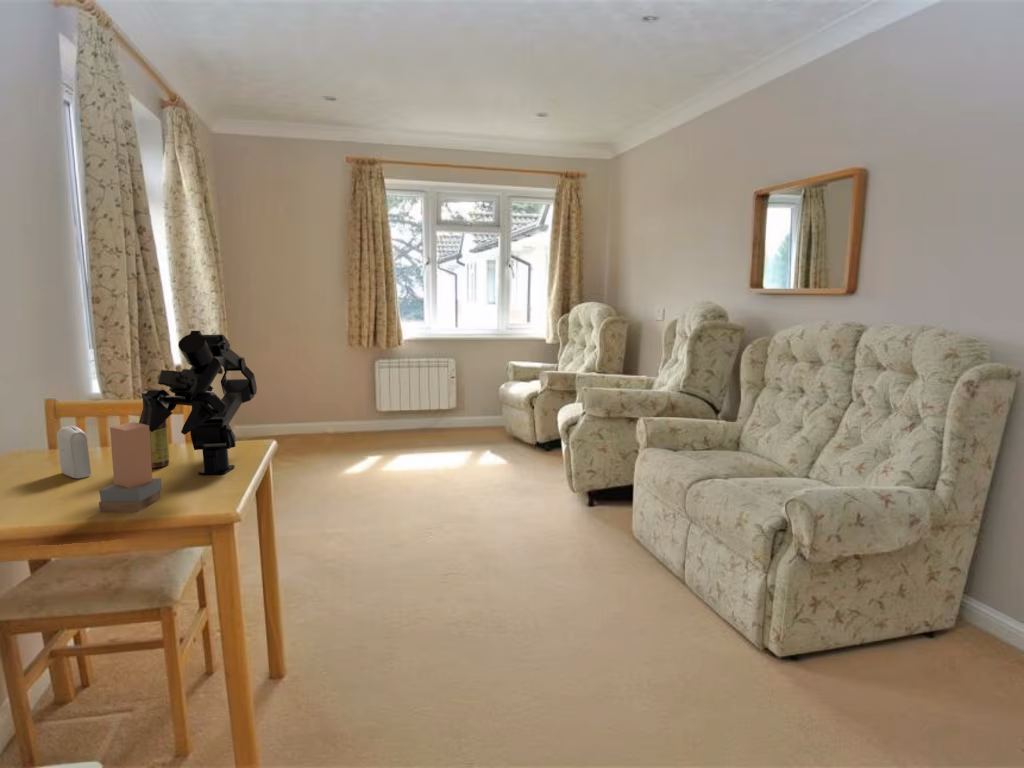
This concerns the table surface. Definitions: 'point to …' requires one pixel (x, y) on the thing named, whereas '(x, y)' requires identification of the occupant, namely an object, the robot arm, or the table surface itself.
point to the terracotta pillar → (131, 454)
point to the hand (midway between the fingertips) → (166, 432)
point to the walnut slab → (129, 504)
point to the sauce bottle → (156, 437)
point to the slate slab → (130, 492)
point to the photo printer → (73, 452)
